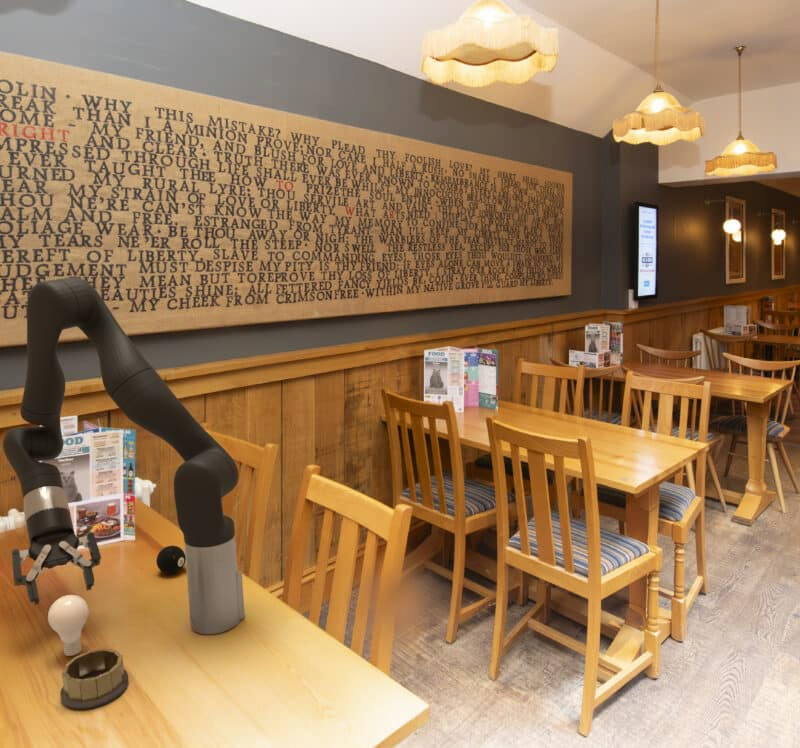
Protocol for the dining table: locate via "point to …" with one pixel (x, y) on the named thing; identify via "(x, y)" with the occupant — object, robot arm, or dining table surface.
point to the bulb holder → (93, 679)
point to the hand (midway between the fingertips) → (63, 595)
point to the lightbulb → (69, 621)
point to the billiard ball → (171, 559)
